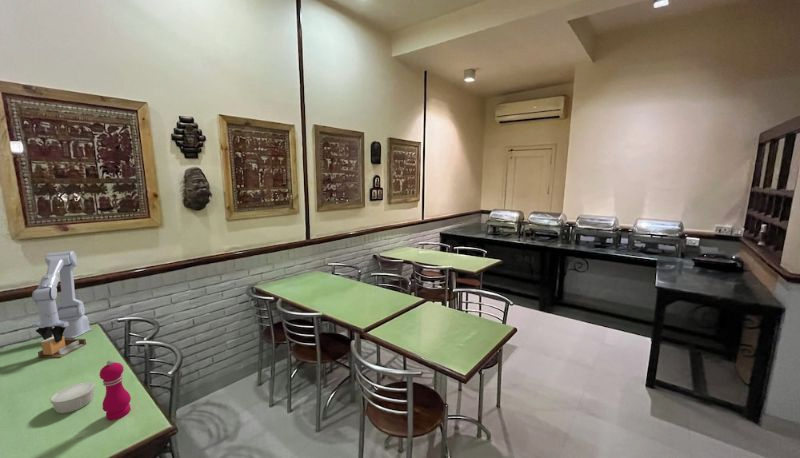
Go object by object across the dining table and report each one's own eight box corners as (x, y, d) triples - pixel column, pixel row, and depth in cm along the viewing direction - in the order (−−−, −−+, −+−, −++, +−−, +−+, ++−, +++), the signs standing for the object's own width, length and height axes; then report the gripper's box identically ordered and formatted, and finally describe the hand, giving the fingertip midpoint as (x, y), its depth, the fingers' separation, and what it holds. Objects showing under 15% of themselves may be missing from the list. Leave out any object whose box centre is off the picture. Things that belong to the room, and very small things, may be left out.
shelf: (66, 344, 157) (65, 339, 157) (86, 344, 157) (85, 338, 157) (38, 357, 145) (37, 352, 145) (60, 357, 145) (59, 351, 145)
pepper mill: (99, 419, 107) (89, 364, 104) (123, 404, 114) (114, 352, 111) (114, 423, 105) (104, 367, 102) (137, 408, 112) (129, 355, 109)
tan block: (57, 347, 151) (55, 335, 150) (65, 347, 151) (63, 335, 150) (43, 354, 145) (40, 341, 144) (52, 354, 145) (49, 341, 144)
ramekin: (64, 398, 118) (62, 385, 117) (103, 391, 122) (100, 378, 121) (44, 419, 107) (41, 405, 107) (86, 410, 111) (84, 397, 110)
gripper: (22, 317, 142) (28, 346, 144) (54, 317, 142) (60, 345, 144) (40, 311, 149) (45, 338, 151) (71, 310, 149) (76, 337, 151)
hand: (53, 341), depth 148 cm, fingers closed on tan block, 4 cm apart
